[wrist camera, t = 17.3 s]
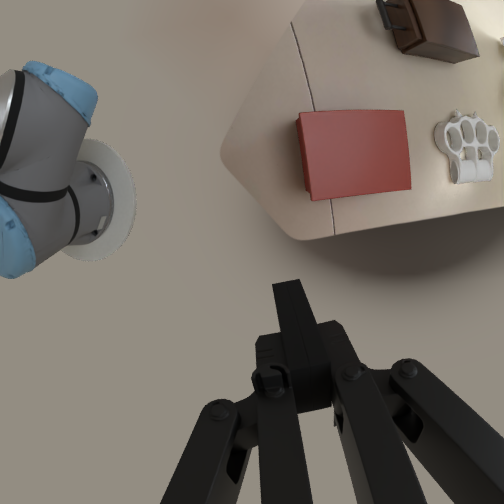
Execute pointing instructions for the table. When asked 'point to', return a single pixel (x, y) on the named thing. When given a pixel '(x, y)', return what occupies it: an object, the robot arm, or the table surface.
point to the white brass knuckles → (468, 147)
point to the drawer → (400, 21)
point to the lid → (355, 152)
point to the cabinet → (442, 32)
